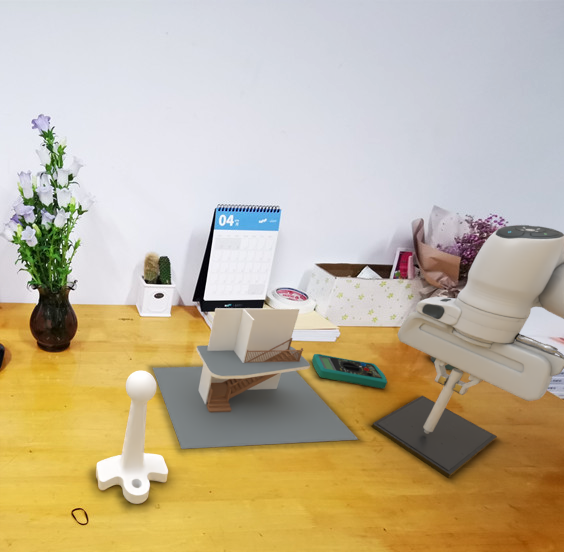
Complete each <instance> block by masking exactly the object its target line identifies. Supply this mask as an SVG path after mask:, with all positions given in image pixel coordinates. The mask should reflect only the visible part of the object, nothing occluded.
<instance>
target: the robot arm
mask: <svg viewBox="0 0 564 552" xmlns="http://www.w3.org/2000/svg"><path fill="white" fill-rule="evenodd" d="M533 308H542V309H544V310H546V311H547V312H548V313H551V314H553V315H555V316H556V317H559V318H561V319H563V320H564V233H563V232H561V231H559V230H558V229H554V228H550V227H546V226H539V225H537V226H536V225H527V224H517V225H516V224H515V225H506V226H504V227H500V228H498V229H496V230H495V231H494V232H493V233H491V234H490V236H489V237H488V238H486V240H485V241H484V243H483V244H482V246H481V248H480V249H479V251H478V252H477V254H476V256H475V257H474V260H473V262H472V264H471V266H470V269H469V271H468V273H467V281H466V284H465V286H464V287H463V288H462V289H461V290H460V291H459V293H458V294H457V296H456V297H455V298H454V297H445V296H432V297H427V298H425V299H422V300H420V301H418V302H417V303H416V306H415V311H412V312H411V313H409V314H408V315H407V316H406V317H405V319H404V321H402V324H401V325H400V327H399V329H398V332H397V338H398V341H399V342H400V343H402V344H405V345H407V346H409V347H410V348H413V349H415V350H417V351H419V352H422V353H424V354H426V355H428V356H429V357H431V356H432V357H434V358H436V360H435V362H434V363H433V365H434V368H435V371H436V376H435V378H434V382H436V384H437V383H438V384H439V385H441V386H444V385H445V383H446V381H447V380H448V378H449V375H450V374H448V373H447V369H445V365H447V364H449V365H451V366H454V367H456V368H458V369H460V370H461V371H462V372H463V373H466V374H469V375H468V378H467V379H468V380H469V381H467V382H466V381H462V380H460V381H459V382H457V383H456V384H455V387H454V388H453V391H454V392H455V393H457V394H459V395H461V396H464V395H466V394H467V392H468V391H469V389H470V388H471V387H474V386H476V385H478V384H480V383H482V382H483V381H484V382H485V383H488V384H489V385H492V386H494V387H496V388H499V389H501V390H502V391H505V392H507V393H508V394H511V395H513V396H516V397H517V398H520V399H521V400H524V401H526V402H533V401H538V400H540V399H541V398H542V397H544V395H546V393H547V391H548V389H549V387H550V385H551V382H552V379H553V377H556V376H558V375H560V374H561V373H562V372H563V370H564V354H563V353H562V352H561V351H559V348H558V347H556V346H553V345H550V344H548V343H543V342H541V341H538V340H536V339H534V338H532V337H529V336H526V335H523V334H521V331H522V329H523V327H524V326H525V324H526V322H527V320H528V319H529V317H530V315H531V310H532V309H533Z"/></svg>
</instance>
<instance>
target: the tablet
mask: <svg viewBox="0 0 564 552" xmlns="http://www.w3.org/2000/svg"><path fill="white" fill-rule="evenodd" d="M435 403H436V401H434V400H432V399H429V398H428V397H426V396H424V395H421V396H419V397H417V398H415V399H414V400H412V401H410V402H408V403H406V404H405V405H403V406H401V407H399V408H397V409H396V410H393V411H392V412H390V413H389V414H387V415H384V416H383V417H381V418H380V419H378V420H375V421H374V422H372V423H371V424H372V425H371V428H373V429H374V430H376V431H378V432H379V433H380V434H382V435H383V436H384V437H386V438H387V439H390V440H391V441H392V442H393V443H395V444H397V445H398V446H400V447H401V448H402V449H404V450H406V451H407V452H409V453H410V454H411V455H413V456H415V457H416V458H418V459H419V460H421V461H422V462H423V463H425V464H427V465H428V466H429V467H431V468H432V469H434V470H435V471H437V472H438V473H440V474H441V475H442V476H445V477H446V478H447V479H449V478H450V477H451V476H453V475H455V473H457V472H458V471H459V470H460V469H462V467H464V466H465V465H466V464H468V463H469V462H470V461H471V460H472V459H473V458H475V457H476V456H477V455H479V453H481V452H482V451H483V450H484V449H486V448H487V447H488V446H489V445H491V444H492V443H494V441H496V439H497V437H498V436H497V435H495V434H493V433H492V432H490V431H488V430H487V429H484V428H483V427H481V426H479V425H477V424H475V423H473V422H472V421H470V420H468V419H466V418H464V417H462V416H460V415H459V414H457V413H455V412H454V411H451V410H450V409H448V408H446V407H445V409H444V411H443V413H442V415H441V417H440V419H439V421H438V423H437V424H436V426H435V428H434V430H433V432H429V434H427V433H425V432H424V430H425V429H424V428H423V426H424V424H425V422H426V421H427V419H428V417H429V415H430V413H431V411H432V409H433V407H434V405H435Z"/></svg>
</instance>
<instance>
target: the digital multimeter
mask: <svg viewBox="0 0 564 552" xmlns="http://www.w3.org/2000/svg"><path fill="white" fill-rule="evenodd" d="M311 362H312V365H313V368H314V370H315V372H316V373H317V375H318V376H319V378H321V379H325V380H326V379H328V380H332V381H337V382H343V383H349V384H354V385H360V386H364V387H369V388H370V387H371V388H374V389H375V388H376V389H381V390H383V389H385V388H386V386H387V384H388V380H387V376H386V375H385V374H384V372H383V371H382V370H381V369H380V367H379V366H377V365H376V363H373V362H365V361H361V360H355V359H348V358H343V357H338V356H331V355H326V354H321V353H313V355H312V359H311Z"/></svg>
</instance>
